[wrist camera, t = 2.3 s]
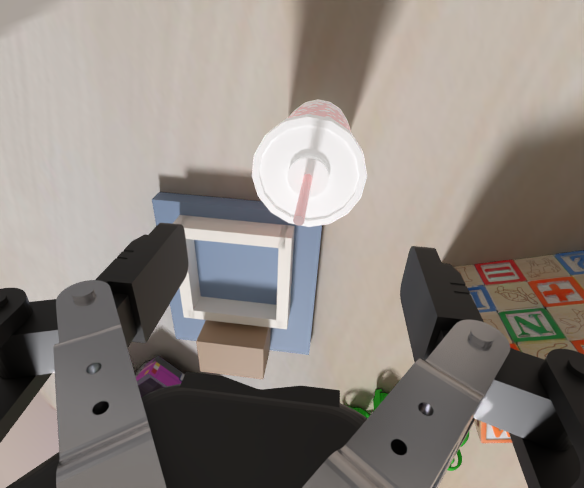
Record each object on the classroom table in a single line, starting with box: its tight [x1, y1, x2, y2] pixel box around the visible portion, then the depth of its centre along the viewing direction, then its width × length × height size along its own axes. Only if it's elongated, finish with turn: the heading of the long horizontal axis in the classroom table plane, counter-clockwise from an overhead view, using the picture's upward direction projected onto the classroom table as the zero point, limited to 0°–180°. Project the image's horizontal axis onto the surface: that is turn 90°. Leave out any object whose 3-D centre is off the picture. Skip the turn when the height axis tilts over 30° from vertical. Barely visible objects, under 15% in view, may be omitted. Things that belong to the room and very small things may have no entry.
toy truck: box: [135, 356, 185, 397], centre depth 42 cm, size 11×16×10 cm
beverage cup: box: [252, 99, 367, 227], centre depth 21 cm, size 6×6×14 cm
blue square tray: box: [152, 192, 322, 379], centre depth 32 cm, size 16×14×6 cm
